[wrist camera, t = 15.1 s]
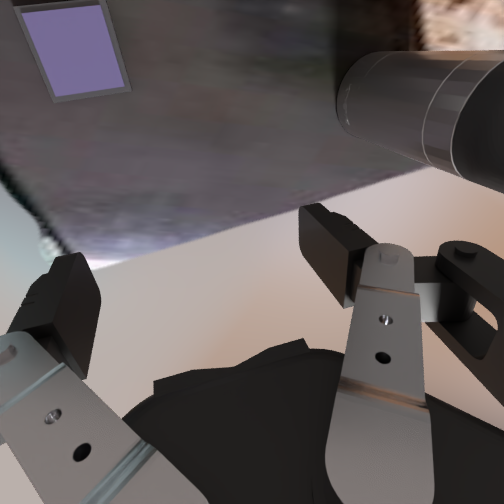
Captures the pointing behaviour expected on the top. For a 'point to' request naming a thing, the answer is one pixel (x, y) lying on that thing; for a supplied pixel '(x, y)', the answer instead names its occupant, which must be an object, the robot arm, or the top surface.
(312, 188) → the top surface
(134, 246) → the top surface
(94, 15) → the ink pad
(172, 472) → the robot arm
